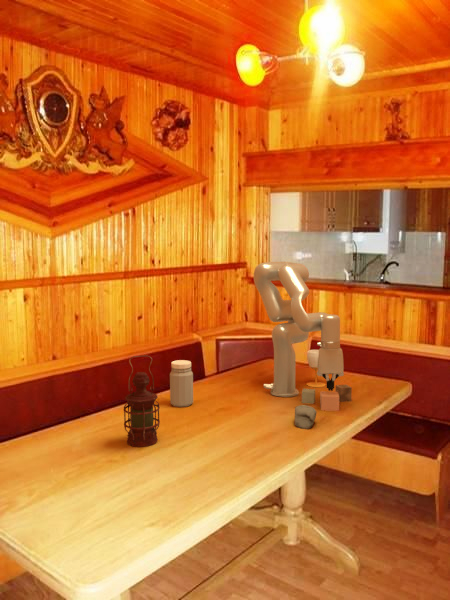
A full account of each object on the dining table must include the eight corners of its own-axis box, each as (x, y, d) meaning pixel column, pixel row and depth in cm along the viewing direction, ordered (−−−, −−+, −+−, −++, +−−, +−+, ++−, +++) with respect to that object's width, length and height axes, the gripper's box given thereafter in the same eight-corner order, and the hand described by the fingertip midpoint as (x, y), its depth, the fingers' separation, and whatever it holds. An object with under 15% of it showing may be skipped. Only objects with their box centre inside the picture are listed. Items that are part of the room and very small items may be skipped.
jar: (182, 409, 229) (182, 365, 227) (165, 405, 235) (164, 362, 233) (198, 403, 237) (197, 361, 235) (180, 399, 242) (180, 358, 241)
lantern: (126, 449, 185) (123, 360, 182) (122, 437, 197) (120, 353, 194) (162, 446, 189) (161, 358, 185) (157, 433, 200) (155, 350, 197)
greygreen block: (301, 403, 237) (301, 391, 236) (303, 399, 242) (303, 388, 241) (313, 404, 235) (313, 392, 235) (315, 400, 240) (315, 389, 240)
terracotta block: (321, 410, 227) (321, 396, 226) (320, 405, 234) (320, 391, 233) (339, 411, 226) (339, 396, 225) (337, 406, 233) (337, 391, 232)
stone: (287, 426, 207) (292, 400, 210) (294, 431, 215) (299, 405, 218) (311, 430, 203) (315, 403, 206) (317, 434, 211) (321, 408, 214)
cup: (302, 383, 268) (303, 350, 266) (318, 381, 272) (319, 348, 270) (313, 388, 260) (313, 354, 258) (329, 386, 264) (330, 352, 262)
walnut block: (340, 402, 238) (340, 388, 237) (335, 398, 243) (335, 385, 242) (351, 401, 239) (351, 387, 239) (346, 398, 244) (346, 384, 243)
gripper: (312, 346, 224) (312, 392, 226) (350, 347, 222) (350, 392, 224) (311, 343, 231) (311, 387, 233) (348, 343, 230) (347, 387, 232)
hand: (330, 389), depth 229 cm, fingers closed
